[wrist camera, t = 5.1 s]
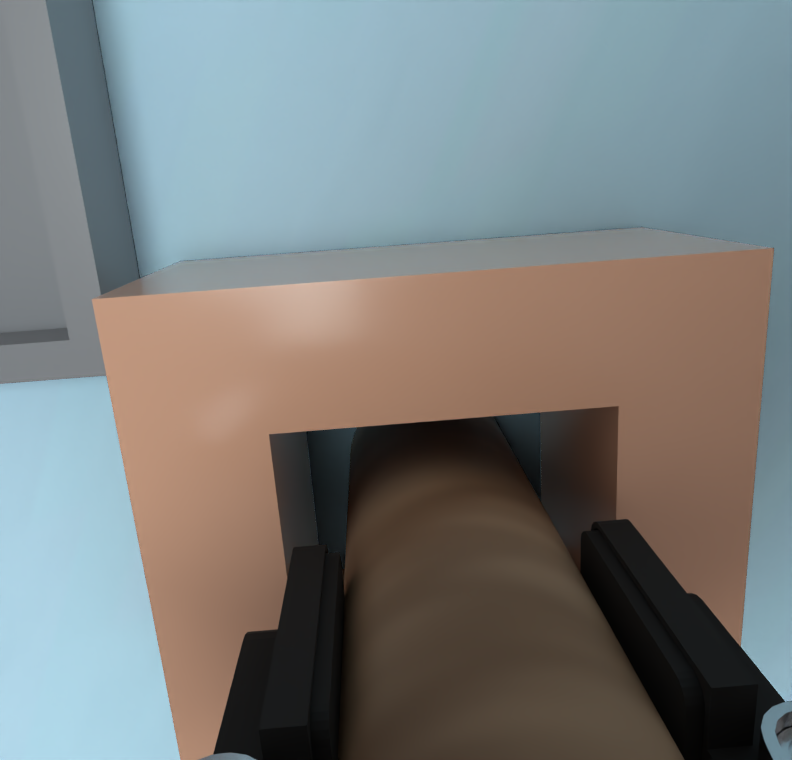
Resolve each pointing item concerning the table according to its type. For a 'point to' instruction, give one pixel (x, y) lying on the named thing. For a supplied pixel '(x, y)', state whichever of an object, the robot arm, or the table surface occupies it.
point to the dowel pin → (473, 614)
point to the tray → (56, 192)
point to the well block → (429, 407)
